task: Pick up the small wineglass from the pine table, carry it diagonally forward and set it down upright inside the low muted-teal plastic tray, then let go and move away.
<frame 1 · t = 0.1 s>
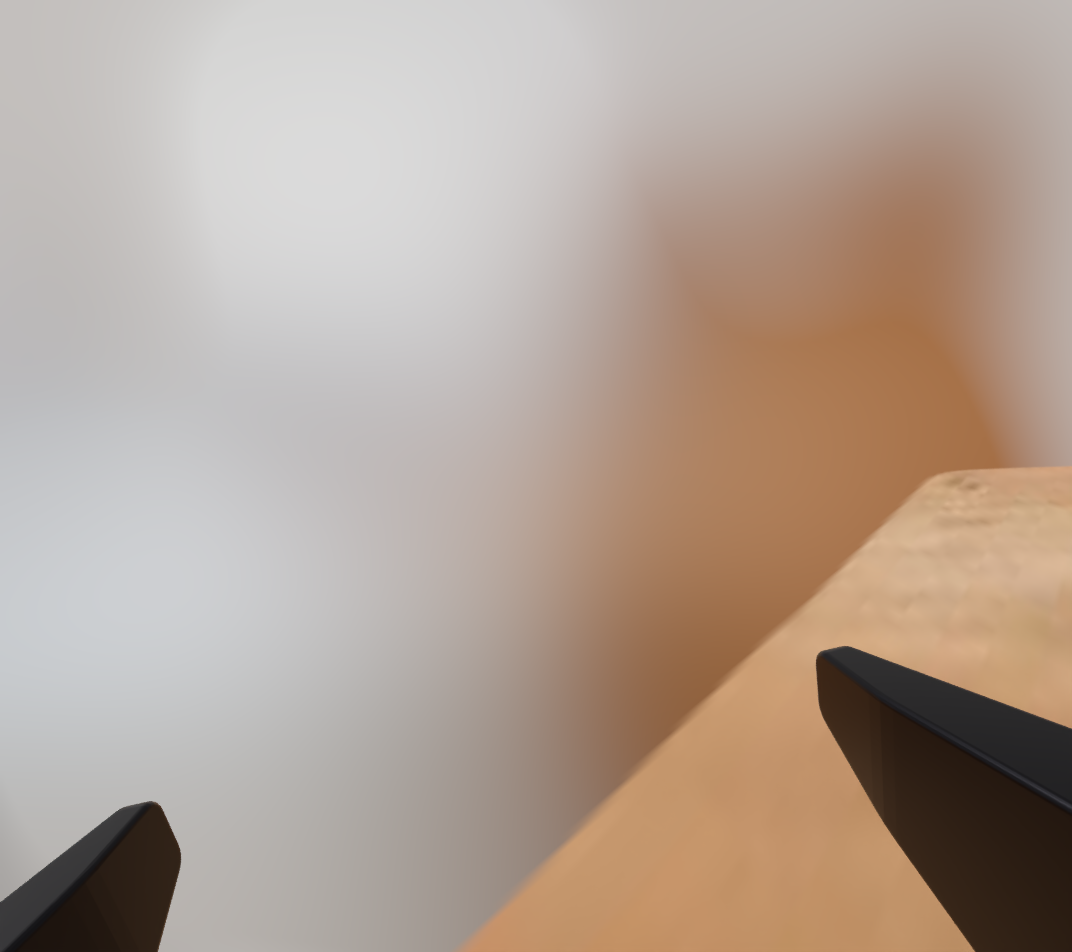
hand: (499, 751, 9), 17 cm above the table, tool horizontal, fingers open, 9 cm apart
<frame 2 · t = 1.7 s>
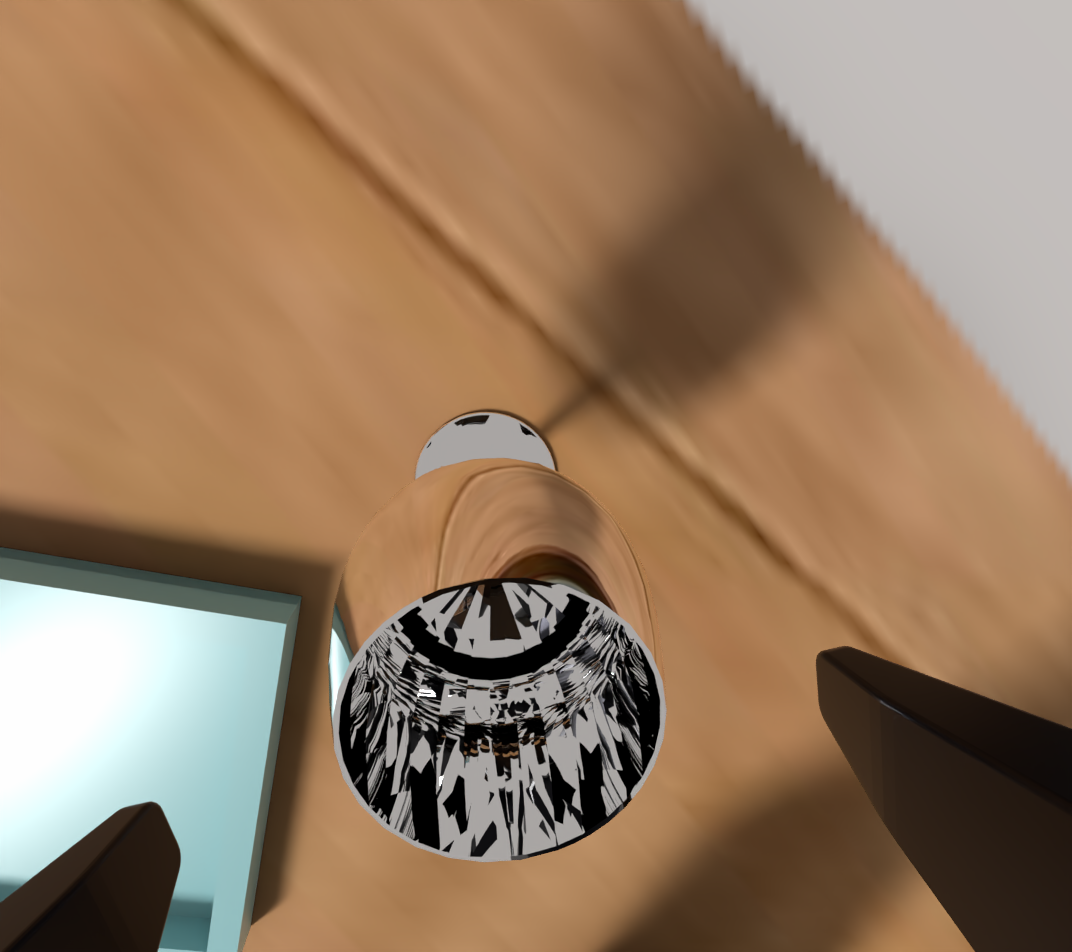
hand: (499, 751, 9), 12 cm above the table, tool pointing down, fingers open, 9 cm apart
tray: (58, 748, 22), on the table
wineglass: (485, 479, 21), on the table
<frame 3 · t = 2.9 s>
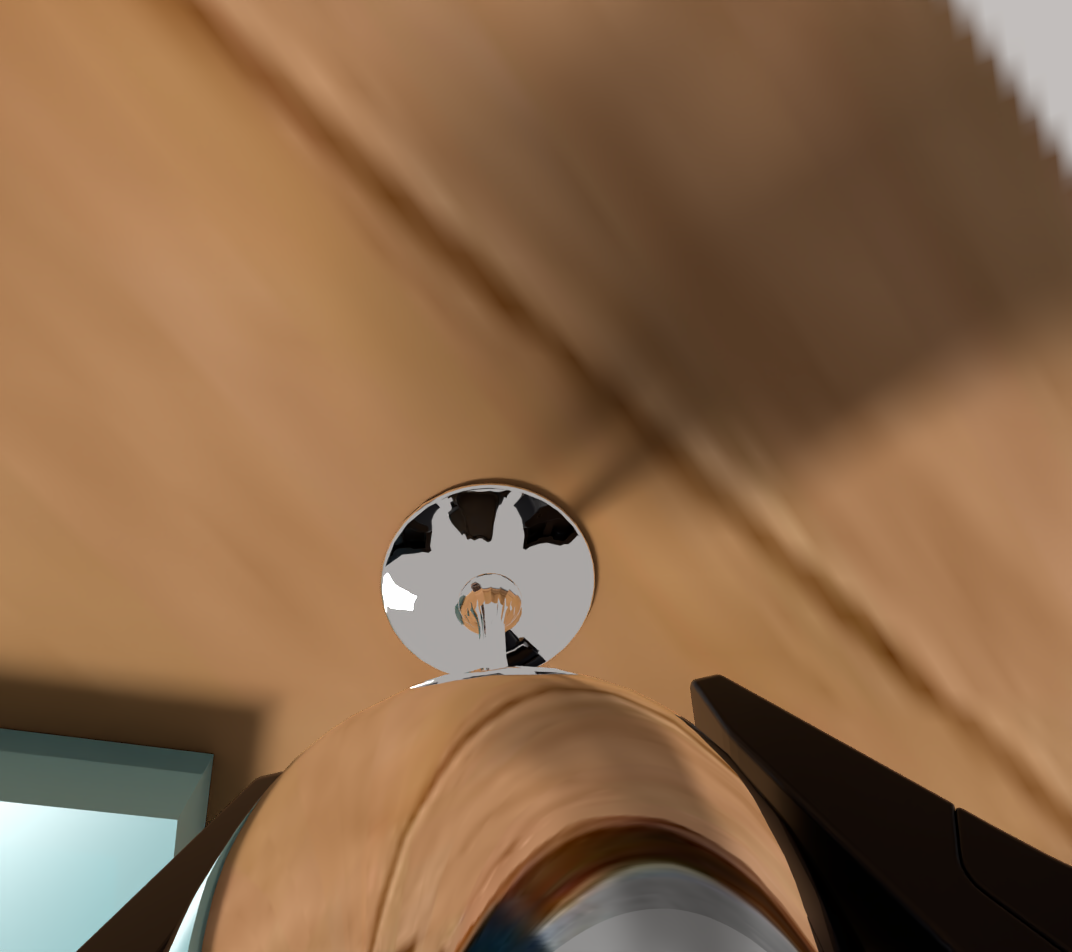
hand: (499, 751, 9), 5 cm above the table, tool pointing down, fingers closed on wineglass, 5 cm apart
wineglass: (488, 580, 14), on the table, touching gripper
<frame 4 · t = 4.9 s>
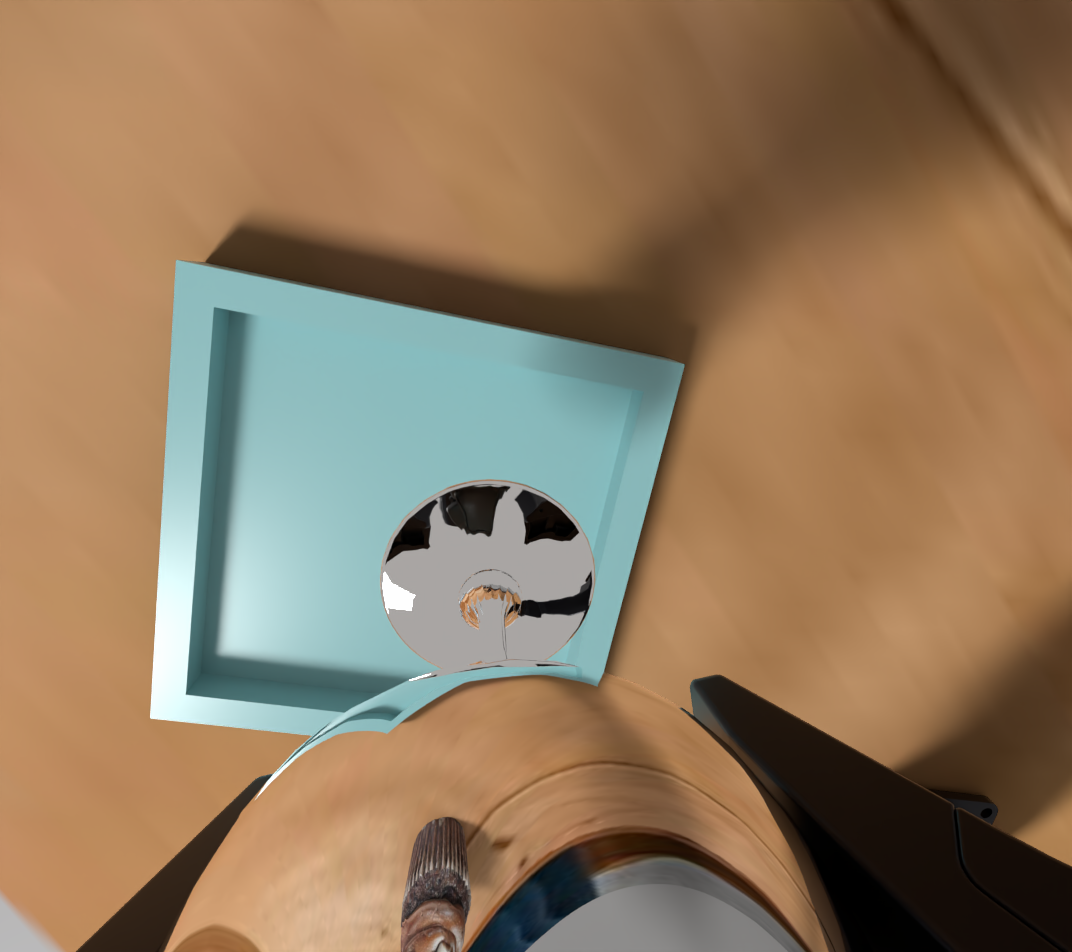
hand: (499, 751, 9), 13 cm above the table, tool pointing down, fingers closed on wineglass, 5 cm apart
tray: (412, 527, 21), on the table
wineglass: (489, 577, 14), point 8 cm above the table, touching gripper
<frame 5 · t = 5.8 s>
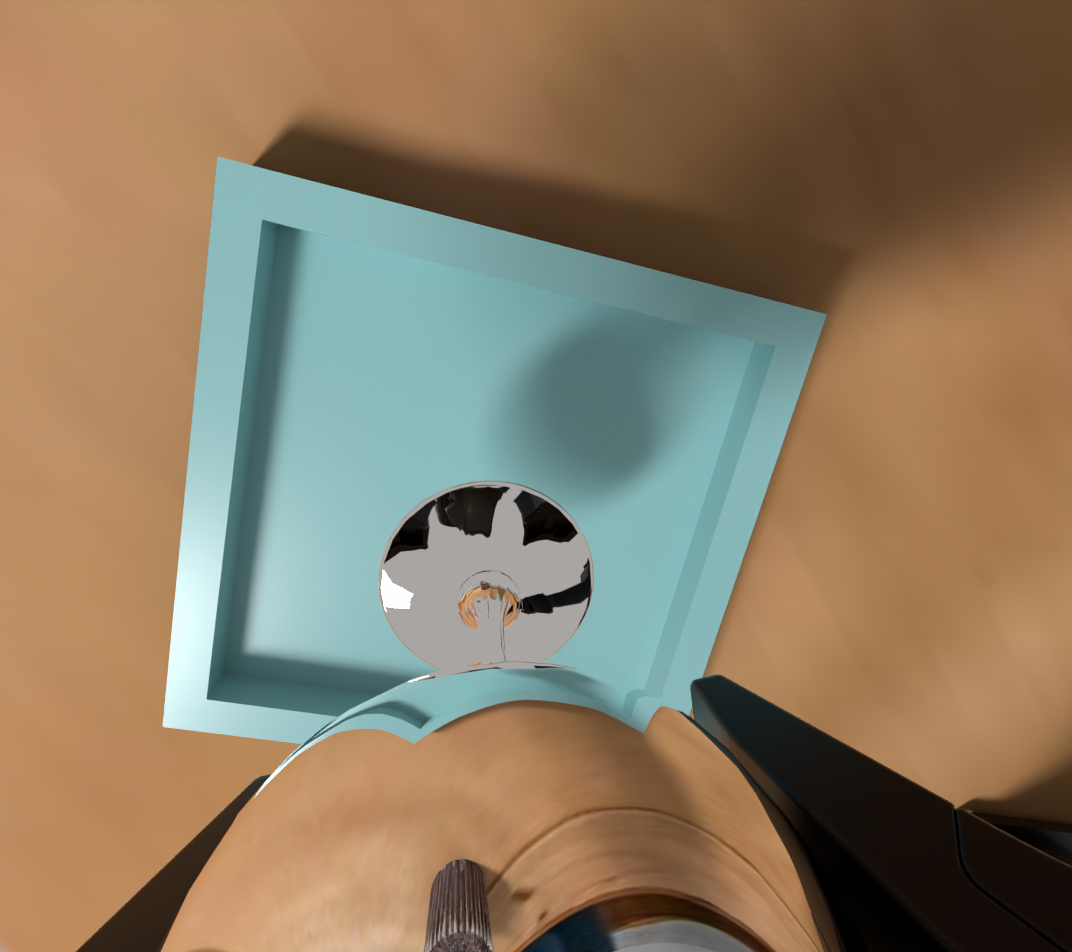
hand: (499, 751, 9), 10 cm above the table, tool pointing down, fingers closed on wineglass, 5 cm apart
tray: (479, 505, 18), on the table
wineglass: (487, 577, 14), point 5 cm above the table, touching gripper
when the fingers open (6 cm above the table, at t = 6.8 s): wineglass stays where it is, resting on tray.
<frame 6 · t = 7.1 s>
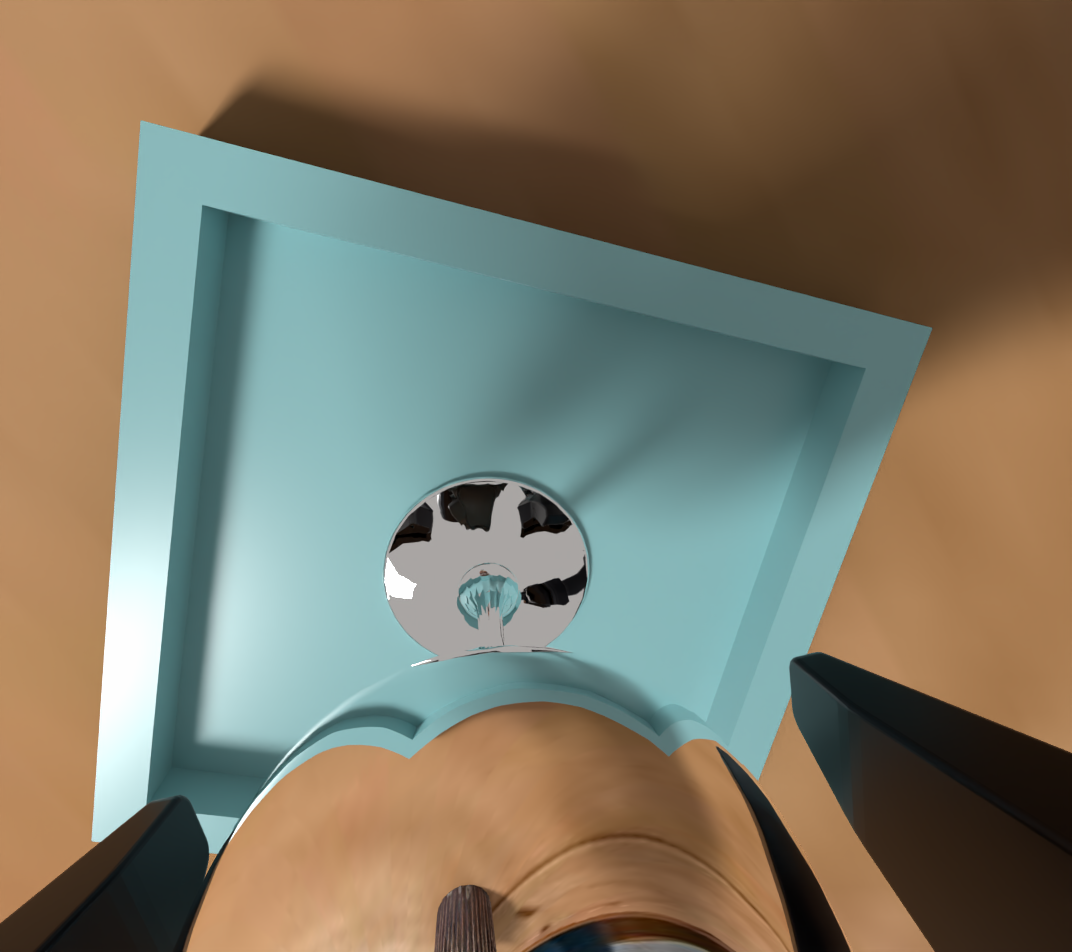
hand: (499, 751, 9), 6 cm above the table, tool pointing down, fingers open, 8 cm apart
tray: (487, 561, 15), on the table
wineglass: (487, 570, 14), resting on tray
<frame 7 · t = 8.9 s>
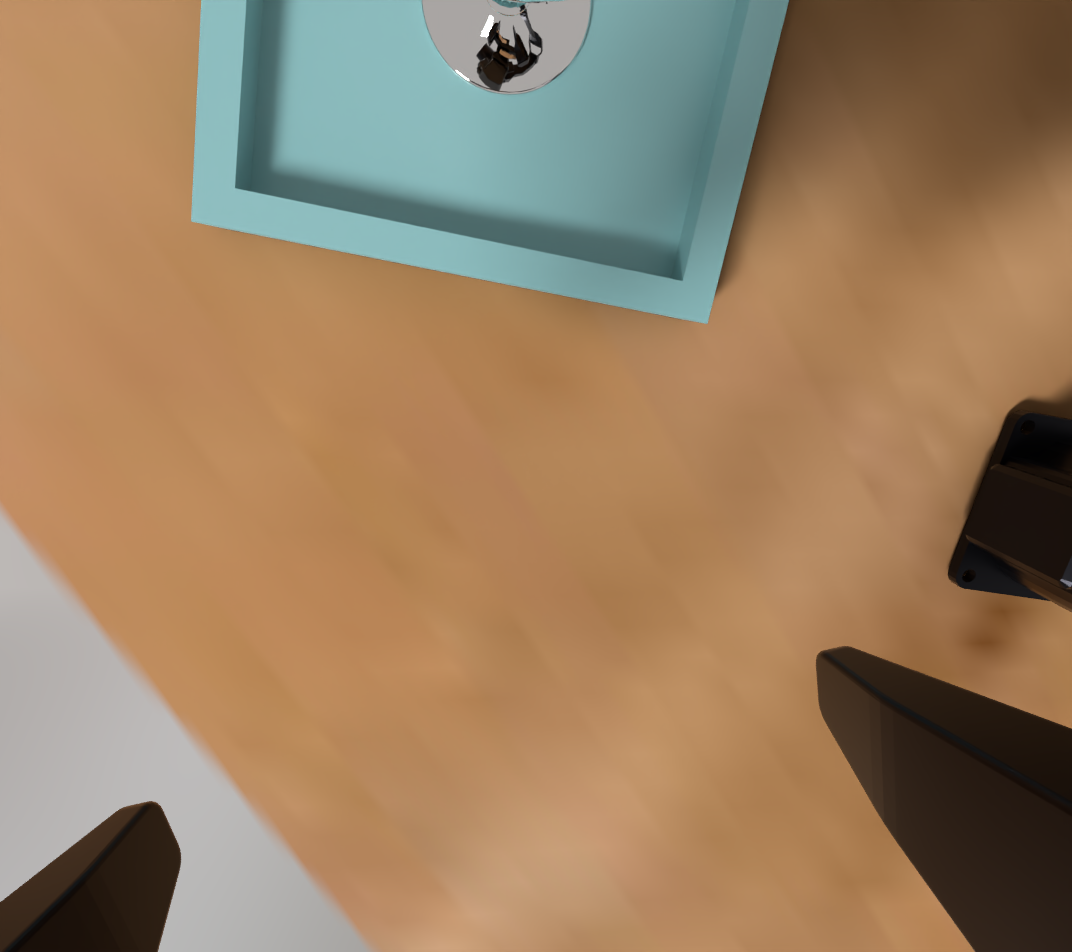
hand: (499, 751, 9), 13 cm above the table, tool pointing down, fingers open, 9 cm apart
tray: (505, 8, 17), on the table
wineglass: (506, 3, 17), resting on tray
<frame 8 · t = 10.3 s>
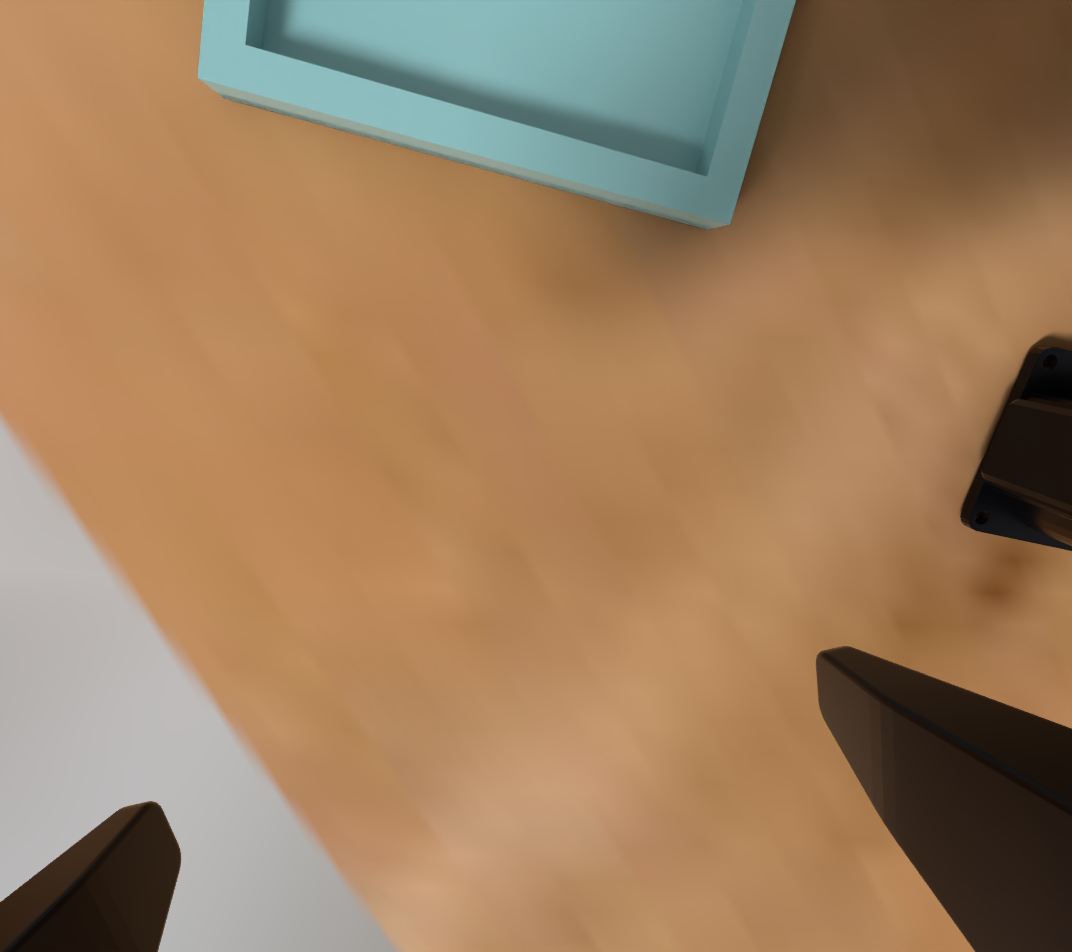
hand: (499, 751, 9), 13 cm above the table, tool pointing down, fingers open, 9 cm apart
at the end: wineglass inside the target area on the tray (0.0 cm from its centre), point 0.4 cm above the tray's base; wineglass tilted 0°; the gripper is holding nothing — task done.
